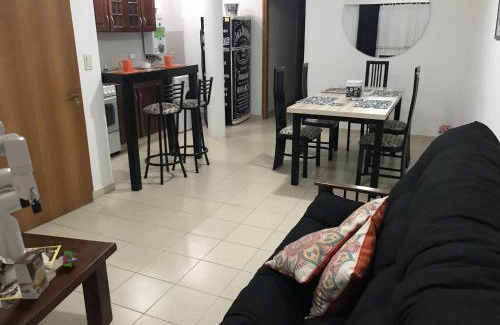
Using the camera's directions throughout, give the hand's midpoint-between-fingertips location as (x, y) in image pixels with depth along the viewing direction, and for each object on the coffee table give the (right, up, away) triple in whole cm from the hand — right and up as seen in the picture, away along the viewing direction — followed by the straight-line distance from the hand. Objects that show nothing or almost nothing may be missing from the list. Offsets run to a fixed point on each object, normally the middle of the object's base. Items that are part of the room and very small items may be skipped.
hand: (31, 209), depth 157 cm
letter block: (0, -30, +11) cm, 32 cm away
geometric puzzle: (+6, -27, +20) cm, 34 cm away
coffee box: (0, -33, +3) cm, 34 cm away
